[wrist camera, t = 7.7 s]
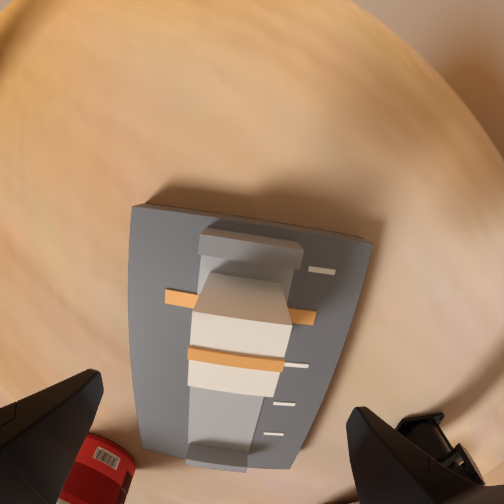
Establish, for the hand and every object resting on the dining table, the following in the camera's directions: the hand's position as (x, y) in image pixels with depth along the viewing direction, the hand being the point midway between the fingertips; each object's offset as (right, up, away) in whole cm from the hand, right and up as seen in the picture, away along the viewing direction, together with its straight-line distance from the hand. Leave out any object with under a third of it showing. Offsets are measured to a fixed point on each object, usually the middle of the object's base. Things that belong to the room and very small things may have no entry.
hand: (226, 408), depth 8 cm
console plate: (-1, -3, +11) cm, 12 cm away
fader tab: (0, +2, +8) cm, 8 cm away
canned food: (-16, -19, +16) cm, 29 cm away
